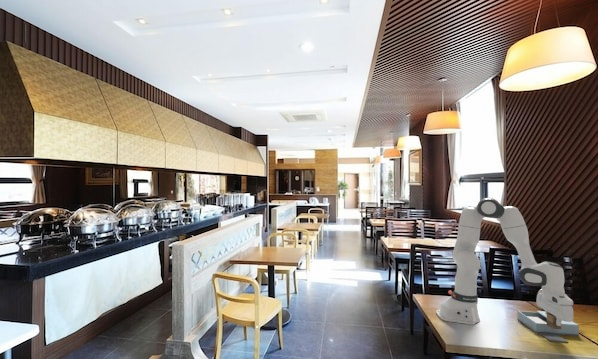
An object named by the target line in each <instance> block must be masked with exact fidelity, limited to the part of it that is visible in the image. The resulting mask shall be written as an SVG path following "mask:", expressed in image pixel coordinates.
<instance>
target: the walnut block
mask: <svg viewBox="0 0 598 359" xmlns="http://www.w3.org/2000/svg"><path fill="white" fill-rule="evenodd" d="M556 320H557V319H556V316H554V315H552V314H551V313H547V325H548V326H549V327H551V328H552V329H561V326H557V325H555V321H556Z"/></svg>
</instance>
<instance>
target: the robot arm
mask: <svg viewBox="0 0 598 359" xmlns="http://www.w3.org/2000/svg"><path fill="white" fill-rule="evenodd" d="M484 218H489V219H491V218H492V219H497V220H498V222H499V224H500V227H501V230H502V233H503V235H504V237H505V239H506V241H508V242H509V243H511V244H512V245H513V246H514V248H515V249H516V251H517V255H518V257H519V259H520V262H521V268H520V270H519V273H518V277H519V279H520V281H521V282H522V283H523V284H524V285H526V286H527V285H528V286H530V287H531V286H532V287H541V288H542V290H541V289H539V290H538V292H537V294H536V306H537V307H538V308H542V309H544V310H545V313H546V316H547V313H551V314H552V315H554V316H556V319H557V320H556V321H555V325H557V326H561V322H562V320H563V321H566V322H572V321H573V322H574V308H573V305H574V301H573V299H571V298H570V297H569V296H568V295H567V294H566V293H565V292H566V291H565V287H564V284H565V272H564V269H563V267H562V266H561V265H560V264H558V263H557V262H552V261H542V262H541V263H538V262H537V260H536V259H535V256H534V254H533V251H532V249H531V246H530V239H529V237H530V236H529V231H528V226H527V224H526V222H525V219H524V216H523V215H522V213H521V212H520V211H519V208H518V207H515V206H512V205H511V206H510V205H508V206H504V205H502V204H501V203H499V201H498V200H497V199H496V198H493V197H484V198H482V199H480V200H479V202H478V203H477V205H476V206H475V207H471V206H470V207H469V206H468V207H465V208H463V209H462V210H461V214H460V217H459V222H458V229H457V236H456V241H455V244H454V247H453V250H452V254H451V256H452V261H453V262H454V264H456V272H455V277H454V290H453V291H452V290H448V292H447V293H448V294H449V295H450V297H449V298H447V299H445V300H444V301H442V302H441V305H440V307H439V308H440V309H436V310H435V313H436V315H437V317H438V318H440V319H441V320H442V321H445V322H452V323H458V324H466V325H474V326H475V325H476V323H480V321H481V318H480V316H479V310H478V294H477V293H478V291H477V285H478V284H477V280H478V276H479V271H480V269H481V265H482V264H481V260H480V258H479V256H478V255H477V254H475V253H476V252H475V251H476V248H477V245H478V243H479V242H480V236H481V228H482V221H483V219H484Z"/></svg>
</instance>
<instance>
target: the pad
mask: <svg viewBox="0 0 598 359" xmlns="http://www.w3.org/2000/svg"><path fill="white" fill-rule="evenodd" d="M538 334H539V335H540V336H542V337H543V338H545V339H546V340H547V341H548V342H553V343H563V344H564V343H565V344H568V343H569V340H567V339H564V338H563V337H562V336H561V335H557V334H554V333H538Z"/></svg>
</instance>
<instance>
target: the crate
mask: <svg viewBox="0 0 598 359" xmlns="http://www.w3.org/2000/svg"><path fill="white" fill-rule="evenodd" d="M516 314H517V321H519V322H520V323H522V324H523V325H524V326H526V327H527V328H529V329H530V330H532V331H533V332H534V333H535V334H539V333H554V334H557V335H559V336H572V337H573V336H574V337H579V336H580V329H579V328H580V326H579V324H578V323H576V322H574V320H573V321H572V322H566V321H563V320H562V322H561V329H552V328H551V327H549V326H548V325H547V316H546V313H545V311H542V310H536V311H528V310H517V313H516Z"/></svg>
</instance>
